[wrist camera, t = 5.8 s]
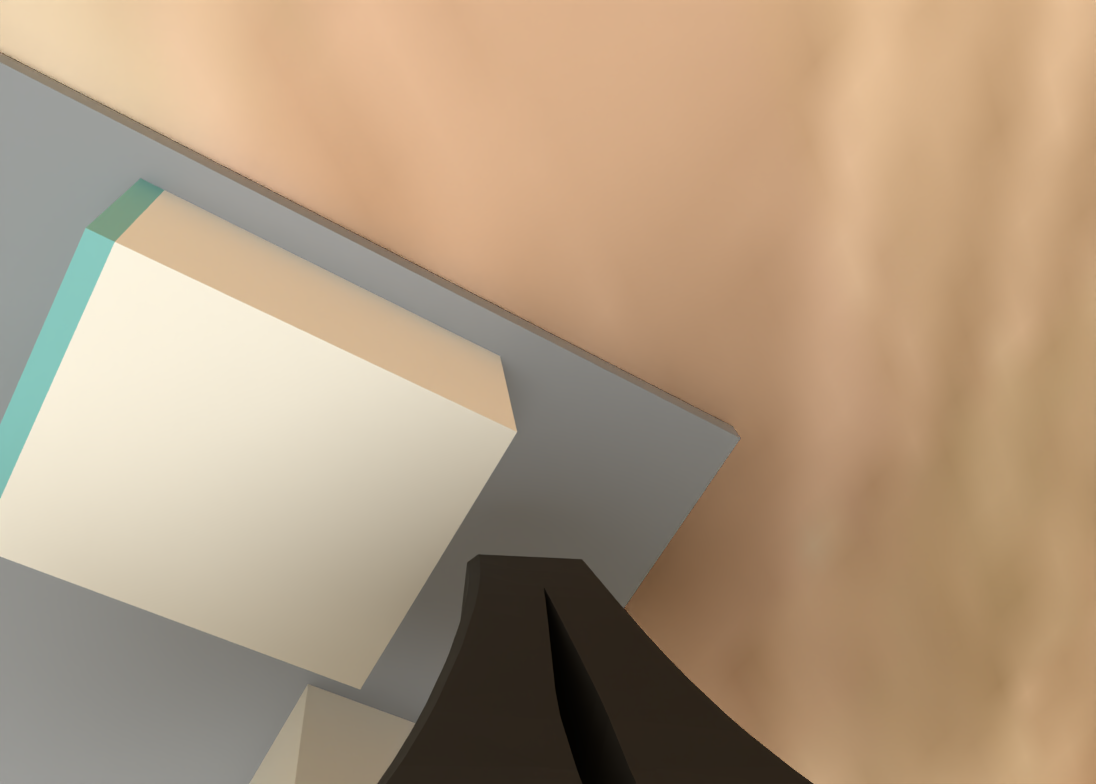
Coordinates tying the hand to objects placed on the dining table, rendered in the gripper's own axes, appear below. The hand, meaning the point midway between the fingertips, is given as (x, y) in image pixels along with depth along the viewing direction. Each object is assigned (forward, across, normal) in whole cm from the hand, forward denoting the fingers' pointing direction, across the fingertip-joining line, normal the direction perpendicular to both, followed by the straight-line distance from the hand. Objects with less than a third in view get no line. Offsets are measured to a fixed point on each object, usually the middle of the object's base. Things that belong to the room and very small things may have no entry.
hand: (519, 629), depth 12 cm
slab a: (+2, +1, 0) cm, 2 cm away
